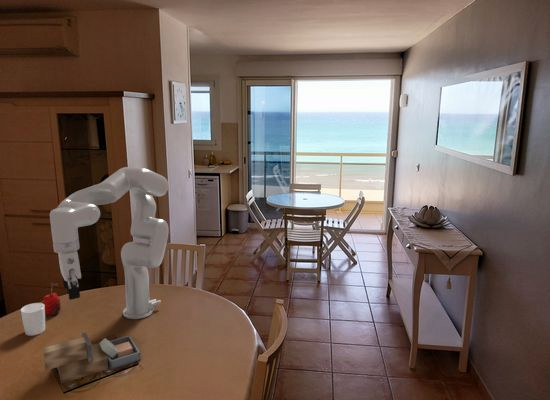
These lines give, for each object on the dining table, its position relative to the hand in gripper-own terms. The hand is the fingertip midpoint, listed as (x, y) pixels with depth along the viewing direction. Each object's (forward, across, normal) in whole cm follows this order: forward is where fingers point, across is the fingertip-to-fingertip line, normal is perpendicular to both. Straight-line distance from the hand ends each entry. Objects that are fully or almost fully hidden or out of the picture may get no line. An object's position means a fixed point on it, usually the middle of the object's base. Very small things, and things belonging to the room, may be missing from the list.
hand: (71, 292), depth 135 cm
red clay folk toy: (+25, +38, +4) cm, 46 cm away
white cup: (+25, +26, +11) cm, 38 cm away
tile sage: (+21, -8, -7) cm, 23 cm away
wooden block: (+24, -8, 0) cm, 25 cm away
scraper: (+20, -8, +5) cm, 22 cm away
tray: (+24, -8, -12) cm, 28 cm away
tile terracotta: (+22, -8, -13) cm, 26 cm away
